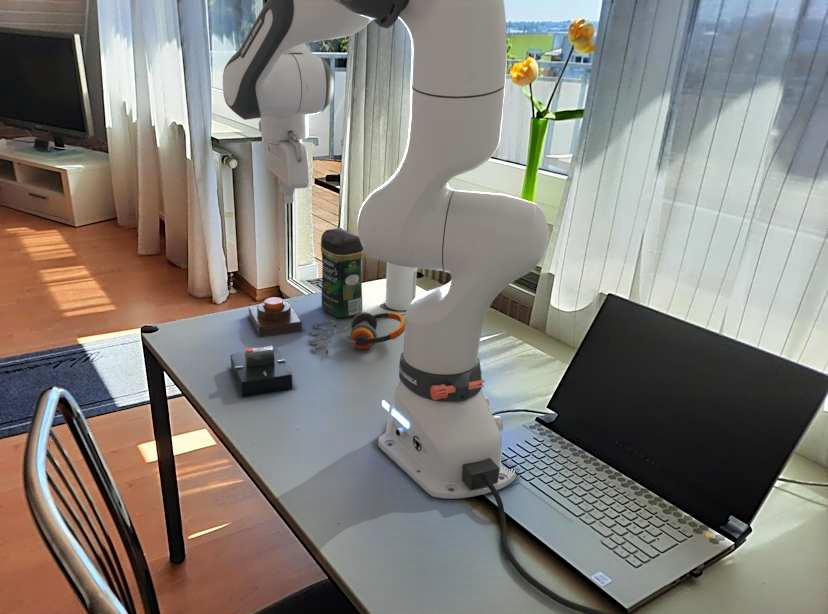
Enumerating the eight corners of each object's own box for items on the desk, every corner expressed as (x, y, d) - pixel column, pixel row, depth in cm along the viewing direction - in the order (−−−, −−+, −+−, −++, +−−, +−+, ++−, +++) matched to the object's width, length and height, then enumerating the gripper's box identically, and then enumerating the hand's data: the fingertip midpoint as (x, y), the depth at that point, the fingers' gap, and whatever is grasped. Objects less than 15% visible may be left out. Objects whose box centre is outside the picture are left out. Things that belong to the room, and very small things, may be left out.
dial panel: (293, 389, 116) (292, 373, 115) (241, 397, 113) (240, 381, 112) (278, 361, 125) (277, 347, 124) (230, 368, 123) (229, 353, 121)
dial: (272, 360, 120) (271, 344, 118) (274, 363, 118) (274, 347, 117) (245, 364, 118) (244, 348, 117) (247, 368, 117) (246, 351, 115)
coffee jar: (316, 307, 150) (314, 228, 141) (345, 300, 153) (346, 223, 145) (337, 322, 142) (337, 240, 134) (367, 314, 146) (369, 234, 138)
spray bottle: (420, 305, 151) (425, 229, 143) (401, 313, 147) (405, 236, 139) (398, 297, 156) (401, 223, 147) (379, 305, 151) (381, 229, 143)
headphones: (310, 312, 140) (401, 294, 138) (316, 333, 142) (406, 316, 140) (302, 347, 125) (405, 328, 123) (309, 371, 128) (410, 352, 125)
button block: (301, 331, 138) (301, 313, 136) (259, 336, 135) (258, 319, 133) (288, 311, 147) (287, 294, 145) (249, 316, 144) (247, 299, 143)
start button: (285, 310, 138) (285, 303, 138) (266, 312, 137) (266, 305, 136) (280, 303, 142) (280, 296, 141) (262, 305, 141) (262, 298, 140)
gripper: (317, 135, 113) (318, 214, 120) (287, 119, 130) (290, 189, 137) (281, 137, 111) (284, 216, 118) (256, 120, 128) (260, 191, 135)
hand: (287, 201), depth 127 cm, fingers closed
